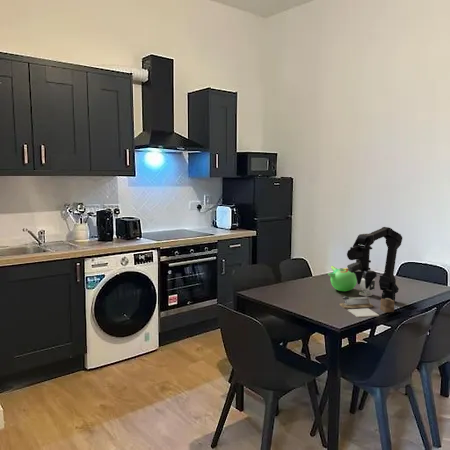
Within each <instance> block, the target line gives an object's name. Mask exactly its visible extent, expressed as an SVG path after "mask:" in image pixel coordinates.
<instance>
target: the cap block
mask: <svg viewBox="0 0 450 450" xmlns="http://www.w3.org/2000/svg"><path fill="white" fill-rule="evenodd" d="M395 301H396V300H395ZM395 301H393V300H391V299H390V298H385V299H382V298H380V311H382V312H383V313H394V312H395V303H394V302H395Z"/></svg>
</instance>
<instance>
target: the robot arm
mask: <svg viewBox="0 0 450 450" xmlns="http://www.w3.org/2000/svg"><path fill="white" fill-rule="evenodd" d="M382 238H384V239H385V244H386V247H387V252H386V258H385V263H384V264H385V266H384V271H383V274H382V275H380V276H379V279H378V280H379V281H378V284H379V289H380V290H381V291H382V293H381V299H385V298H390V299H391V300H393V301H395V302H394V304H396V303H397V301H396V294H397V293H398V292H399V286H398V285H397V283H396V280H397V279H396V277H395V275H394V274H395V266H396V260H397V252H398V248H400V247H401V245H402V242H403V235H402V234H401V233H399V232H398V231H395V230H394V229H393V228H391V227H389V226H381V228H379V229H377V230H374V231H372V232H369V233H362V234H359V235H357V237H356V239H355V241H354V243H353V245H352V246H351V247H349V249H348V251H347V252H346V257H347V259H348V260H349V261H355V262H353V263H350V264H348V265H347V268H348V270H349V271H350V272H351V273H354V274H355V276H356V279H357V283H356V284H357V285H360V282H361V279H362V278H364V279H365V288H366V289H368V287H369V286H370V284H371V282H372V281H373V279H374V280H375V279H376V278H378V273H377V272H376V271H374V270H373V269H372V270H371V268H370V263H371V262H372V261H371V260H370V252H371V250H373V247H372V245H373V244H374V243H375V241H377V240H380V239H382Z"/></svg>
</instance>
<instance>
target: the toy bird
mask: <svg viewBox="0 0 450 450" xmlns="http://www.w3.org/2000/svg"><path fill="white" fill-rule="evenodd" d="M330 268H331V270H332V272H328V273H327V276H329V277H330V284H331V286H332V287H333V288H334V289H335V290H337V291H339V292H349V291H351V290H353V289H354V288H355V287H356V285H357V284H358V283H357V279H356V276H355V274H354V273H351V272H350V271H349V270H348V267H347V268H346V267H345V268H343V267H342V268H337V267H335V266H333V265H331V266H330Z"/></svg>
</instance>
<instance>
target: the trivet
mask: <svg viewBox="0 0 450 450" xmlns="http://www.w3.org/2000/svg"><path fill="white" fill-rule="evenodd" d="M347 312H349V313H350V314H352V315H353V316H355V317H356V318H368V317H369V318H370V317H373V318H374V317H380V315H379V313H377V312H375V311H374V310H372V309H370V308H369V307H365V308H347Z"/></svg>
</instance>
